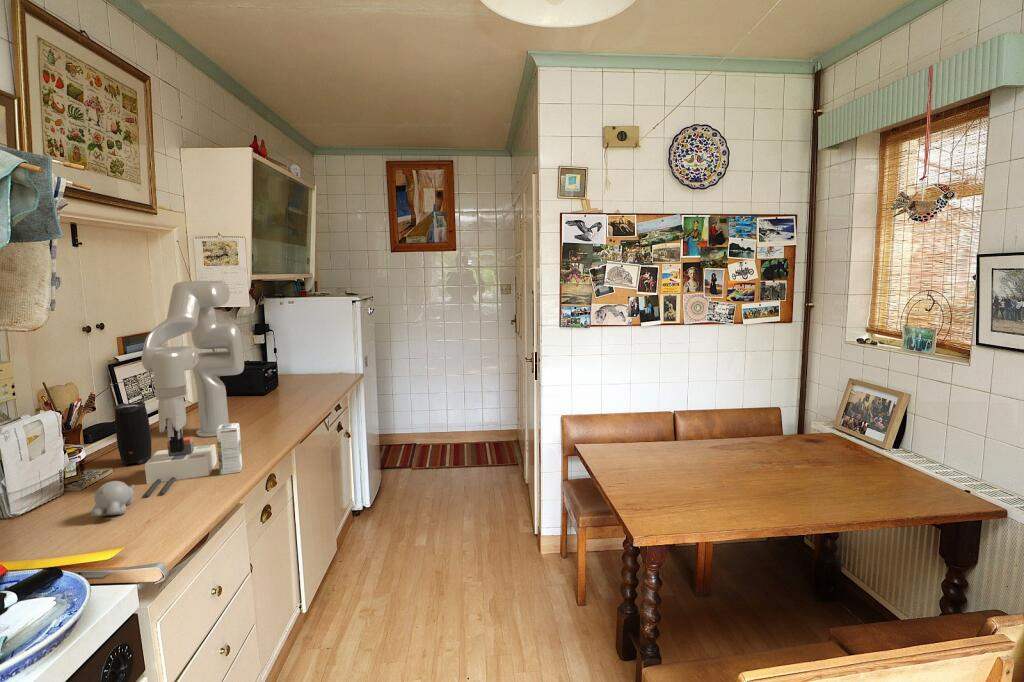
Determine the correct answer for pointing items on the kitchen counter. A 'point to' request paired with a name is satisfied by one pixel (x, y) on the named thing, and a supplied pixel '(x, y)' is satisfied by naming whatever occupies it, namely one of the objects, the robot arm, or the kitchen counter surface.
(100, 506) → the toy rhinoceros
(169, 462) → the block
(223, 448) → the syrup box
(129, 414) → the portable speaker
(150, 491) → the dressed cords
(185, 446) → the handle
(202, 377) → the robot arm
